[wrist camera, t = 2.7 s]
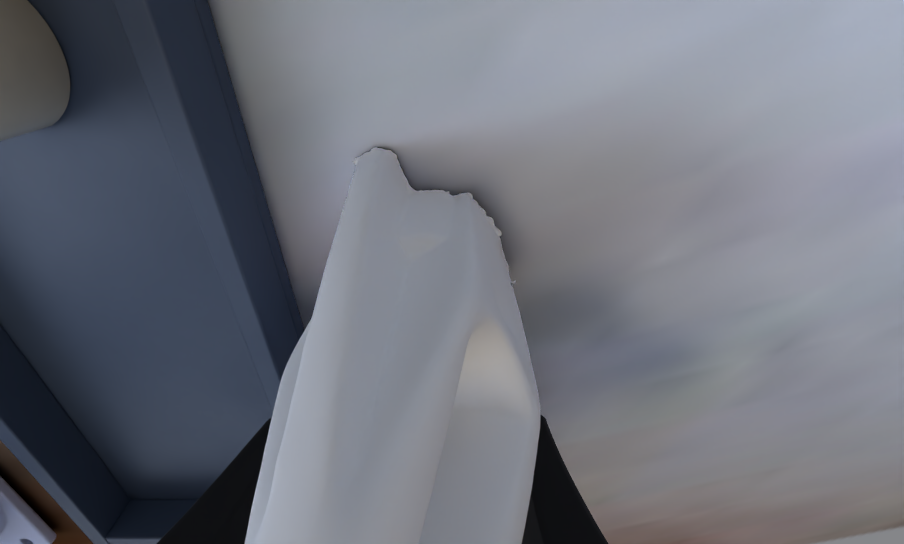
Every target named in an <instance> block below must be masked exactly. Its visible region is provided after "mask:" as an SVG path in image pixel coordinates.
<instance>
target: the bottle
mask: <svg viewBox="0 0 904 544" xmlns="http://www.w3.org/2000/svg"><path fill="white" fill-rule="evenodd" d="M70 91H71V85H70V75H69V69H68V66H67V62H66V59H65V56H64V54H63V51H62V49H61V46H60V44H59V42H58V41H57V39H56V37H55V35H54V33H53V32H52V30H51V29H50V27H49V25H48V24H47V23H46V21H45V20H44V19H43V17H42V16H41V15H40V13H39V12H38V11H37V10H36V9H35V8H34V6H33V5H32V4H31V3H30V2H29V1H28V0H0V142H3V141H6V140H10V139H13V138H16V137H20V136H23V135H26V134H30V133H33V132H36V131H40V130H43V129H46V128H48V127H50V126H52V125H53V124H54V123H56V122H57V121H58V120H59V119H60V117H61V116H62V115H63V114H64V112H65V110H66V108H67V106H68V102H69V99H70Z"/></svg>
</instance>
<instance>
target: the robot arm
mask: <svg viewBox="0 0 904 544" xmlns="http://www.w3.org/2000/svg"><path fill="white" fill-rule="evenodd" d="M271 419H272V418H269V419H268V420H267V421H266V422H265V424H264V425H263V426H262V427H261V428H260V429H259V430H258V432H257V433H256V434H255V435H254V436H253V437H252V439H251V440H250V441H249V442H248V443H247V444H246V446H245V447H244V448H243V449H242V450H241V451H240V453H239V454H238V455H237V456H236V457H235V458H234V460H233V461H232V462H231V463H230V464H229V465H228V466H227V468H226V469H225V470H224V471H223V472H222V473H221V475H220V476H219V477H218V478H217V479H216V480H215V481H214V482H213V483H212V485H211V486H210V487H209V488H208V489H207V490H206V491H205V492H204V493H203V495H202V496H201V497H200V498H199V499H198V500H197V501H196V502H195V504H194V505H193V506H192V507H191V508H190V509H189V510H188V511H187V512H186V513H185V514H184V515H183V517H182V518H181V519H180V520H179V521H178V522H177V523H176V524H175V525H174V526H173V527H172V528H171V529H170V530H169V531H168V532H167V533H166V534H165V535H164V536H163V537H162V538H161V539H160V540H159V542H158V543H157V544H245V539H246V534H247V529H248V524H249V518H250V513H251V508H252V503H253V499H254V495H255V490H256V486H257V482H258V477H259V473H260V469H261V464H262V460H263V454H264V449H265V445H266V441H267V437H268V432H269V428H270V423H271ZM55 539H56V533H55V532H54V531H53V530H52V529H51V528H50V527H49V526H48V525H47V524H46V523H45V522H44V521H43V520H42V519H41V518H40V516H39V515H38V514H37V513H36V512H35V511H34V510H33V509H32V508H31V507H30V506H29V505H28V504H27V503H26V502H25V501H24V500H23V499H22V498H21V497H20V496H19V495H18V494H17V493H16V492H15V491H14V489H13V488H12V487H11V486H10V485H9V484H8V483H7V482H6V481H5V480H4V479H3V478H2V477H1V476H0V544H52V543H53V541H54V540H55ZM522 544H608V542H607V541H606V539H605V537H604V536H603V534H602V532H601V531H600V529H599V527H598V526H597V524H596V522H595V520H594V519H593V517H592V515H591V513H590V511H589V510H588V508H587V506H586V504H585V502H584V500H583V499H582V497H581V495H580V493H579V491H578V489H577V488H576V486H575V484H574V482H573V480H572V478H571V476H570V474H569V472H568V470H567V468H566V466H565V464H564V462H563V460H562V457H561V455H560V453H559V451H558V449H557V446H556V444H555V442H554V439H553V437H552V434H551V432H550V429H549V427H548V424H547V421H546V418H545V417H543V416H542V415H540V433H539V440H538V447H537V455H536V462H535V469H534V476H533V484H532V490H531V496H530V502H529V507H528V512H527V518H526V524H525V529H524V534H523V539H522Z"/></svg>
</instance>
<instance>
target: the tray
mask: <svg viewBox="0 0 904 544" xmlns="http://www.w3.org/2000/svg"><path fill="white" fill-rule="evenodd" d="M28 1H29V2H30V3H31V4H32V5H33V6H34V8H35V9H36V10H37V11H38V12H39V13H40V15H41V16H42V17H43V19H44V20H45V21H46V23H47V24H48V25H49V27H50V29H51V30H52V32H53V33H54V35H55V37H56V39H57V41H58V42H59V44H60V46H61V49H62V51H63V54H64V56H65V59H66V62H67V66H68V69H69V75H70V85H71V91H70V99H69V102H68V106H67V108H66V110H65V112H64V114H63V115H62V116H61V117H60V119H59V120H58V121H57V122H56V123H54V124H53V125H52V126H50V127H48V128H46V129H43V130H40V131H36V132H33V133H30V134H26V135H23V136H20V137H16V138H13V139H10V140H6V141H3V142H0V440H1V441H2V442H3V443H4V444H5V446H6V447H7V448H8V449H9V450H10V451H11V452H12V453H13V454H14V456H15V457H16V458H17V459H18V460H19V461H20V462H21V463H22V464H23V466H24V467H25V468H26V469H27V470H28V471H29V472H30V473H31V474H32V476H33V477H34V478H35V479H36V480H37V481H38V482H39V483H40V484H41V486H42V487H43V488H44V489H45V490H46V491H47V492H48V493H49V494H50V495H51V497H52V498H53V499H54V500H55V501H56V502H57V503H58V504H59V505H60V507H61V508H62V509H63V510H64V511H65V512H66V513H67V514H68V515H69V517H70V518H71V519H72V520H73V521H74V522H75V523H76V524H77V525H78V527H79V528H80V529H81V530H82V531H83V532H84V533H85V534H86V535H87V537H88V538H89V539H90V540H91V541H92V542H93V543H94V544H157V543H158V542H159V540H160V539H161V538H162V537H163V536H164V535H165V534H166V533H167V532H168V531H169V530H170V529H171V528H172V527H173V526H174V525H175V524H176V523H177V522H178V521H179V520H180V519H181V518H182V517H183V515H184V514H185V513H186V512H187V511H188V510H189V509H190V508H191V507H192V506H193V505H194V504H195V502H196V501H197V500H198V499H199V498H200V497H201V496H202V495H203V493H204V492H205V491H206V490H207V489H208V488H209V487H210V486H211V485H212V483H213V482H214V481H215V480H216V479H217V478H218V477H219V476H220V475H221V473H222V472H223V471H224V470H225V469H226V468H227V466H228V465H229V464H230V463H231V462H232V461H233V460H234V458H235V457H236V456H237V455H238V454H239V453H240V451H241V450H242V449H243V448H244V447H245V446H246V444H247V443H248V442H249V441H250V440H251V439H252V437H253V436H254V435H255V434H256V433H257V432H258V430H259V429H260V428H261V427H262V426H263V425H264V424H265V422H266V421H267V420H268V419H269V418H272V415H273V411H274V406H275V402H276V398H277V394H278V389H279V386H280V382H281V378H282V375H283V372H284V370H285V367H286V365H287V363H288V361H289V358H290V356H291V354H292V352H293V350H294V348H295V347H296V345H297V343H298V341H299V339H300V338H301V336H302V334H303V332H304V328H303V325H302V321H301V318H300V315H299V311H298V308H297V304H296V301H295V298H294V294H293V291H292V287H291V284H290V281H289V277H288V274H287V270H286V267H285V264H284V260H283V257H282V253H281V250H280V247H279V243H278V240H277V236H276V233H275V230H274V226H273V223H272V219H271V216H270V213H269V209H268V206H267V202H266V199H265V195H264V192H263V189H262V185H261V182H260V178H259V175H258V172H257V168H256V165H255V161H254V158H253V155H252V151H251V148H250V144H249V141H248V138H247V134H246V131H245V127H244V124H243V121H242V117H241V114H240V110H239V107H238V104H237V100H236V97H235V93H234V90H233V87H232V83H231V80H230V76H229V73H228V70H227V66H226V63H225V59H224V56H223V53H222V49H221V46H220V42H219V39H218V36H217V32H216V29H215V25H214V22H213V19H212V15H211V12H210V8H209V5H208V1H207V0H28Z"/></svg>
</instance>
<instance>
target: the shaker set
mask: <svg viewBox="0 0 904 544" xmlns="http://www.w3.org/2000/svg"><path fill="white" fill-rule="evenodd" d="M353 163H354V164H355V166H356V168H355V171H354V174H353V177H352V180H351V183H350V187H349V190H348V194H347V197H346V200H345V203H344V207H343V210H342V213H341V216H340V220H339V223H338V227H337V230H336V233H335V236H334V239H333V243H332V246H331V250H330V253H329V257H328V260H327V263H326V266H325V270H324V273H323V278H322V281H321V285H320V288H319V292H318V296H317V300H316V304H315V308H314V311H313V315H312V318H311V320H310V322H309V323H308V325H307V327H306V329H305V331H304V332H303V334H302V336H301V338H300V339H299V341H298V343H297V345H296V347H295V348H294V350H293V352H292V354H291V356H290V358H289V361H288V363H287V365H286V367H285V370H284V372H283V375H282V378H281V382H280V386H279V389H278V394H277V398H276V402H275V406H274V411H273V415H272V419H271V423H270V428H269V432H268V437H267V441H266V445H265V449H264V454H263V460H262V464H261V469H260V473H259V477H258V482H257V486H256V490H255V495H254V499H253V503H252V508H251V513H250V518H249V524H248V529H247V534H246V539H245V544H522V539H523V534H524V529H525V524H526V518H527V512H528V507H529V502H530V496H531V490H532V484H533V476H534V469H535V462H536V455H537V447H538V440H539V433H540V401H539V395H538V388H537V384H536V380H535V375H534V371H533V367H532V363H531V358H530V353H529V349H528V345H527V340H526V336H525V332H524V328H523V324H522V319H521V315H520V311H519V308H518V304H517V301H516V297H515V294H514V287H513V286H512V283H513V284H514V283H515V282H516V281H513V282H511V279H510V276H509V268H510V267H509V266H508V263H507V261H506V259H505V255H504V252H503V249H502V245H501V244H502V243H501V238H500V237H499V236H501V235H502V232H501V231H500V230H499V229H498V228H497V227H496V226H495V225H494V220H493V219H492V217H489V216H488V217H487V215H486V212H485V211H484V209H483V208H482V209H481V207H480V206H478V202H477V201H476V200H475V199H474V200H473V197H472V194H471V193H463V194H461V193H459V195H455V196H452V195H450V194H449V191H448V192H445V191H444V190H432V191H431V190H426V191H422V190H420V191H416V190H414V189H413V188H412V187H411V186H410V185H409V184H408V180H407V179H406V177H405V175H404V174H403V170H402V169H401V168H400V165H399V161H398V159H397V155H396V154H395V153H393V152H392V151H391V150H384V149H382V148H376V147H374V148H372V150H371V151H370V152H365V153H363V154H362V156H361V157H356V158H355V160H354V161H353Z"/></svg>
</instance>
